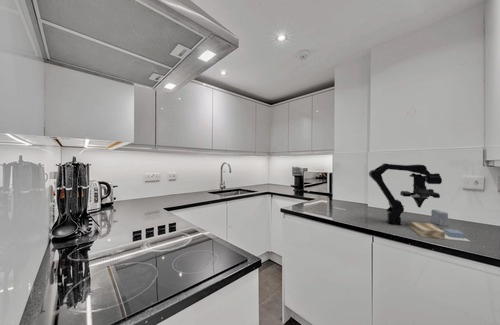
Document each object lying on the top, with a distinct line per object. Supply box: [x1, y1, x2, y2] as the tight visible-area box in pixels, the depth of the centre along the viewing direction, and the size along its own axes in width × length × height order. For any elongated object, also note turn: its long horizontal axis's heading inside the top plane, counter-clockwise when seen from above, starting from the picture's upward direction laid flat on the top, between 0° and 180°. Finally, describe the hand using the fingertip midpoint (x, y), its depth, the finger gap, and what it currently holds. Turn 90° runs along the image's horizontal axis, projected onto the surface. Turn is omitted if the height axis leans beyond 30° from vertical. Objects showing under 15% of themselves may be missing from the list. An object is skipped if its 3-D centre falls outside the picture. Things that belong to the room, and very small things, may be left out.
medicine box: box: [430, 209, 449, 227], centre depth 127 cm, size 8×4×9 cm, turn 168°
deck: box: [410, 221, 446, 240], centre depth 112 cm, size 10×14×4 cm
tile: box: [443, 228, 465, 238], centre depth 107 cm, size 6×6×2 cm
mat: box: [441, 229, 471, 242], centre depth 108 cm, size 10×14×1 cm
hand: (419, 207), depth 124 cm, fingers closed
